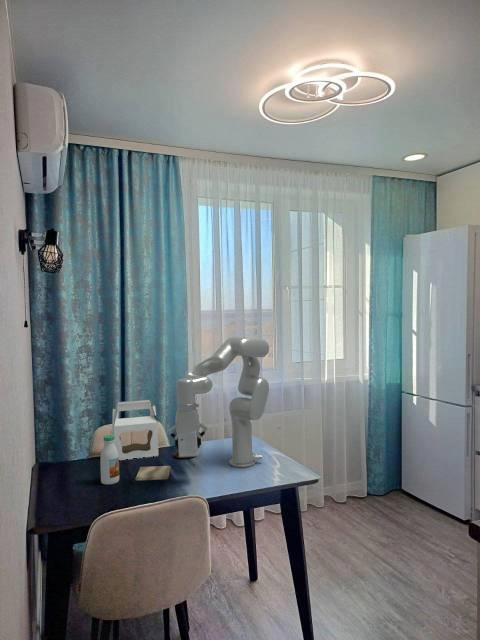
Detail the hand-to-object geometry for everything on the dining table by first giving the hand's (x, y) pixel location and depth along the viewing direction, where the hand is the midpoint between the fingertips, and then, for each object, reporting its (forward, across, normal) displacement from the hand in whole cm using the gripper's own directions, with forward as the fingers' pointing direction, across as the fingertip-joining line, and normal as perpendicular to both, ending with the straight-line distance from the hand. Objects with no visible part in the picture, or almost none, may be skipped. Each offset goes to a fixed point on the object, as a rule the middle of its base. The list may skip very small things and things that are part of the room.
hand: (188, 447), depth 199 cm
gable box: (+15, +30, -42) cm, 54 cm away
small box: (+3, 0, 0) cm, 4 cm away
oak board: (+15, +17, -11) cm, 25 cm away
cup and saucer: (+16, +4, -36) cm, 40 cm away
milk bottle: (+15, +35, -4) cm, 38 cm away
